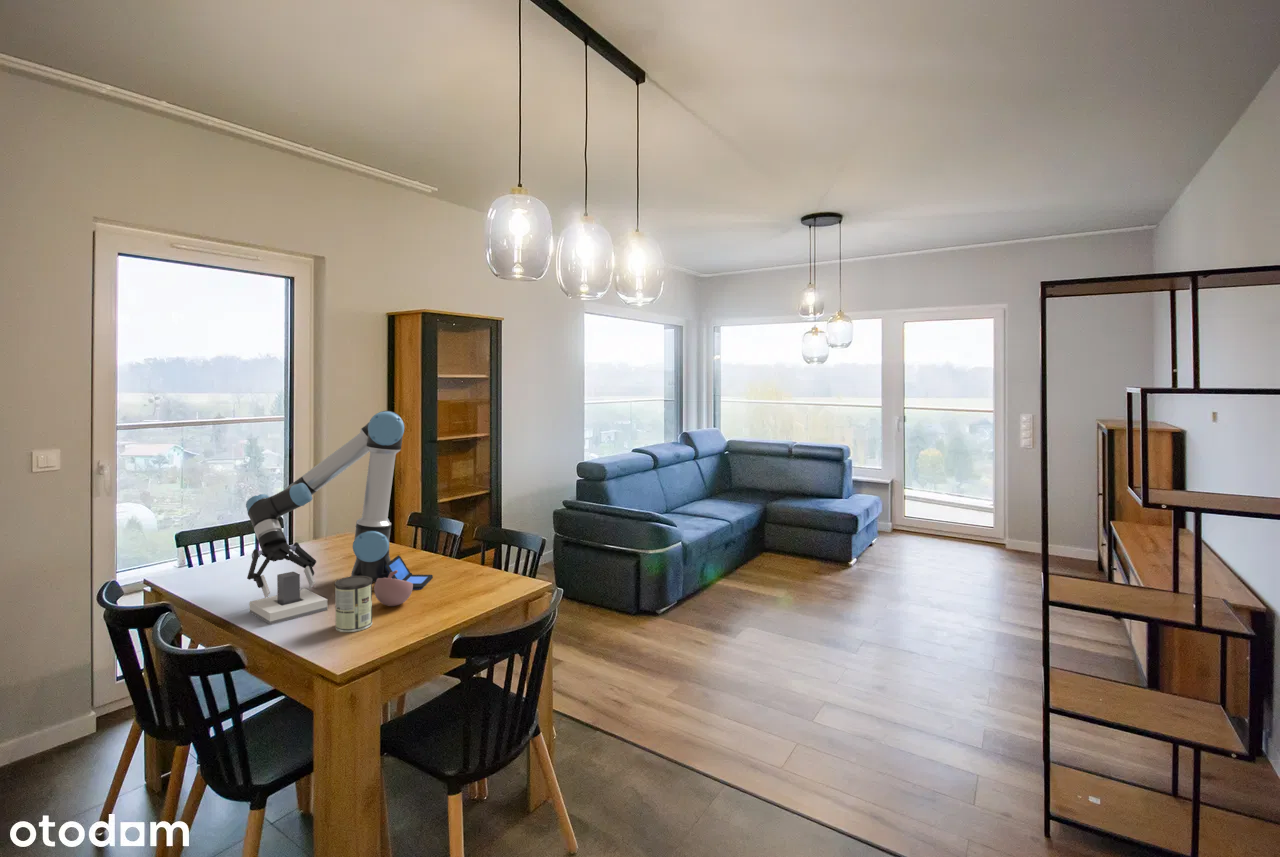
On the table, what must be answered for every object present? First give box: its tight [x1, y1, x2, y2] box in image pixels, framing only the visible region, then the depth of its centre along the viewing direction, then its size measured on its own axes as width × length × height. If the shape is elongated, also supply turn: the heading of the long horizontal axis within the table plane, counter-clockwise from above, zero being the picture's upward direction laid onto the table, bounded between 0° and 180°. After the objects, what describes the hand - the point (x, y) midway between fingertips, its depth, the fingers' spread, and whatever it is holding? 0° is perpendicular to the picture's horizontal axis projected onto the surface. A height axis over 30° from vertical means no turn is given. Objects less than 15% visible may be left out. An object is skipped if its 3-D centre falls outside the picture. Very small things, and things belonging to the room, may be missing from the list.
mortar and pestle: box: [373, 570, 413, 607], centre depth 202 cm, size 12×12×11 cm
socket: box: [249, 588, 328, 626], centre depth 195 cm, size 17×16×4 cm
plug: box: [276, 571, 301, 605], centre depth 195 cm, size 5×5×11 cm
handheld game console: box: [385, 554, 434, 591], centre depth 226 cm, size 16×13×9 cm
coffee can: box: [334, 576, 373, 633], centre depth 183 cm, size 10×10×14 cm
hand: (290, 589), depth 193 cm, fingers open, 13 cm apart
